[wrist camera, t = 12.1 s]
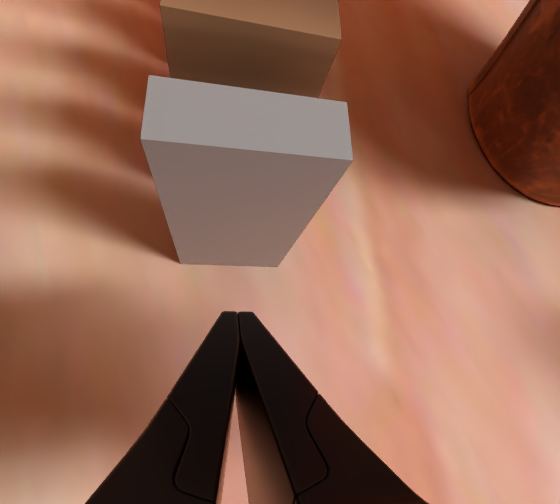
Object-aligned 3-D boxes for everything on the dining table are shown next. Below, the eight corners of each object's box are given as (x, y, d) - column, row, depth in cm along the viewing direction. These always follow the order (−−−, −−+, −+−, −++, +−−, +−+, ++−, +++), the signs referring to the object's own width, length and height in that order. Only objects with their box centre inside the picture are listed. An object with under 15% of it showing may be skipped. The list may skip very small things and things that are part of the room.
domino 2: (276, 199, 19) (341, 39, 9) (186, 191, 18) (159, 4, 8) (276, 171, 19) (337, -5, 10) (189, 162, 18) (166, -42, 9)
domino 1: (277, 266, 17) (352, 160, 8) (180, 263, 16) (140, 138, 7) (276, 235, 18) (347, 102, 9) (183, 230, 17) (148, 75, 8)
